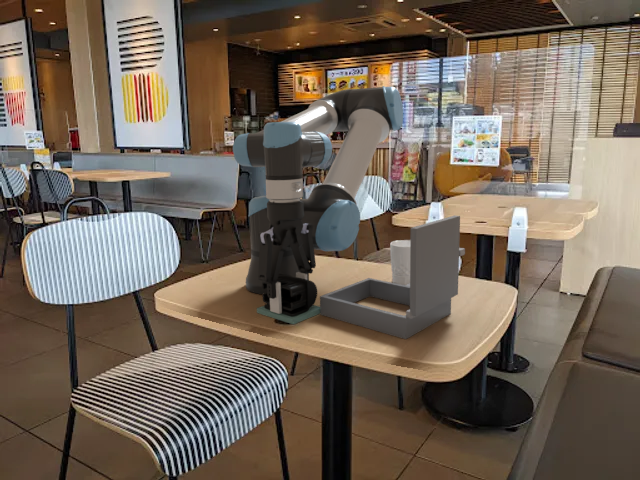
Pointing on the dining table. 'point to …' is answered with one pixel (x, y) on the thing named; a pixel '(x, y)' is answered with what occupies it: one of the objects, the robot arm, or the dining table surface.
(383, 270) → the dining table surface
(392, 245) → the white cup
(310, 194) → the robot arm
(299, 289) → the end cap
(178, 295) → the dining table surface
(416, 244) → the case
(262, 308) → the rubber pad
